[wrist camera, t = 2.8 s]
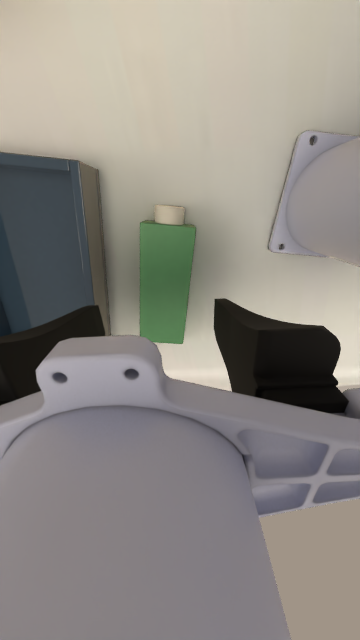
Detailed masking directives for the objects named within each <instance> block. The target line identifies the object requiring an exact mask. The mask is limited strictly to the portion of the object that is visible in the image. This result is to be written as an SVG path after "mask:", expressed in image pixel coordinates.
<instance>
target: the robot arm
mask: <svg viewBox="0 0 360 640" xmlns="http://www.w3.org/2000/svg"><path fill="white" fill-rule="evenodd" d="M311 137H312V138H314V143H313V145H310V143H309V141H310V138H311ZM280 244H283V247H282V248H281V249H279V245H280ZM268 248H269V250H270V251H271V252H275V253H286V254H298V255H309V256H320V257H331V258H335V259H338V260H341V261H344V262H347V263H350V264H353V265H356V266H359V267H360V137H358V136H350V135H342V134H334V133H326V132H317V131H309V130H308V131H305V132H303V133H301V134H300V135H299V136H298V138H297V141H296V145H295V149H294V152H293V156H292V160H291V163H290V167H289V171H288V175H287V178H286V182H285V186H284V190H283V193H282V197H281V201H280V204H279V208H278V212H277V216H276V219H275V223H274V227H273V231H272V234H271V238H270V242H269V246H268ZM214 331H215V336H216V341H217V343H218V346H219V349H220V352H221V354H222V357H223V360H224V362H225V365H226V368H227V371H228V375H229V379H230V384H231V388H232V392H230V391H226V390H221V389H217V388H212V387H208V386H203V385H199V384H194V383H190V382H185V381H181V380H176V379H172V378H169V377H168V376H166V375H165V373H164V371H163V367H162V358H161V354H160V352H159V350H158V347H157V345H156V344H154V343H153V342H151V341H150V340H149V339H147V338H146V337H140V336H134V335H121V336H105V329H104V325H103V321H102V317H101V313H100V309H99V305H88V306H85V307H82V308H79V309H77V310H75V311H73V312H71V313H68V314H66V315H64V316H62V317H59V318H57V319H55V320H52V321H50V322H48V323H45V324H43V325H40V326H37V327H34V328H31V329H28V330H24V331H21V332H17V333H13V334H10V335H5V336H1V337H0V640H291V638H290V633H289V630H288V626H287V622H286V618H285V614H284V611H283V607H282V603H281V600H280V596H279V592H278V588H277V584H276V581H275V577H274V573H273V570H272V565H271V562H270V558H269V554H268V550H267V547H266V543H265V539H264V536H263V531H262V528H261V524H260V520H259V518H260V517H265V516H270V515H275V514H280V513H285V512H290V511H296V510H301V509H306V508H311V507H316V506H321V505H326V504H331V503H337V502H342V501H348V500H354V499H360V388H353V389H347V390H345V391H344V392H343V393H341V392H340V390H339V389H338V388H337V387H336V385H338V381H337V379H336V378H335V377H334V376H333V372H334V369H335V367H336V364H337V361H338V359H339V355H340V351H341V347H340V342H339V340H338V339H337V337H336V336H335V335H333V334H332V333H331V332H330V331H329V330H327V329H326V328H325V327H324V326H317V325H302V324H294V323H288V322H282V321H278V320H274V319H270V318H266V317H264V316H261V315H258V314H255V313H253V312H251V311H248V310H246V309H244V308H242V307H240V306H238V305H237V304H235V303H233V302H231V301H229V300H227V299H225V298H223V299H215V306H214Z"/></svg>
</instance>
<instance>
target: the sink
mask: <svg viewBox="0 0 360 640" xmlns="http://www.w3.org/2000/svg"><path fill="white" fill-rule="evenodd" d="M88 305H99V309H100V313H101V317H102V321H103V325H104V329H105V336H111V332H110V319H109V305H108V292H107V279H106V265H105V252H104V239H103V225H102V212H101V199H100V185H99V172H98V169H96V168H93V167H91V166H89V165H87V164H85V163H83V162H80V161H78V160H68V159H60V158H51V157H42V156H32V155H23V154H14V153H5V152H0V337H1V336H5V335H10V334H13V333H17V332H21V331H24V330H28V329H31V328H34V327H37V326H40V325H43V324H45V323H48V322H50V321H52V320H55V319H57V318H59V317H62V316H64V315H66V314H68V313H71V312H73V311H75V310H77V309H79V308H82V307H85V306H88Z"/></svg>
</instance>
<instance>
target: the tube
mask: <svg viewBox="0 0 360 640" xmlns="http://www.w3.org/2000/svg"><path fill="white" fill-rule="evenodd" d="M184 210H185V208H184V207H176V206H165V205H155V215H154V221H147V220H145V221H143V222H141V223H140V337H146V338H147V339H149V340H150V341H151V342H158V343H173V344H183V340H184V331H185V322H186V313H187V304H188V295H189V287H190V278H191V269H192V260H193V251H194V242H195V234H196V227H195V226H194V225H189V224H183V221H184Z"/></svg>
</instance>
